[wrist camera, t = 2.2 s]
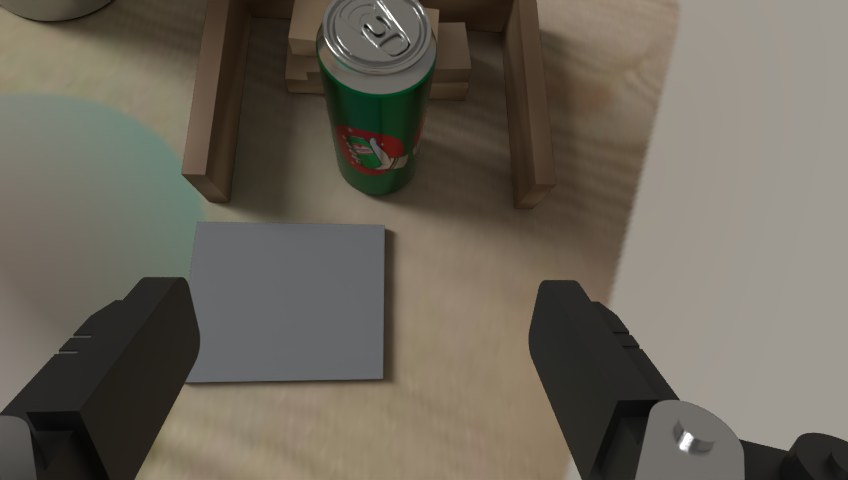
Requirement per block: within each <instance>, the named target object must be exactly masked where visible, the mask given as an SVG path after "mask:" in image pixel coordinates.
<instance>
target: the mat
mask: <svg viewBox="0 0 848 480" xmlns="http://www.w3.org/2000/svg"><path fill="white" fill-rule="evenodd" d="M384 241H385V225H351V224H295V223H238V222H197V225H196V233H195V241H194V247H193V254H192V261H191V269H190V277H189V283H188V285H189V288H190V293H191V297H192V301H193V305H194V310H195V314H196V318H197V322H198V327H199V331H200V349H199V354H198V357H197V360H196V362H195V364H194V366H193V368H192V370H191V372H190V373H189V375H188V377H187V379H186V381H185V382H236V381H292V380H349V379H383V331H384Z"/></svg>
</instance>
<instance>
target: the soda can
mask: <svg viewBox="0 0 848 480" xmlns="http://www.w3.org/2000/svg"><path fill="white" fill-rule="evenodd" d="M316 53H317V58H318V63H319V69H320V74H321V79H322V84H323V89H324V94H325V99H326V105H327V110H328V115H329V120H330V125H331V130H332V135H333V141H334V146H335V151H336V156H337V161H338V166H339V169H340V172H341V174H342V176H343V177H344V179H345V180H346V181H347V182H348V183H349V184H350V185H351V186H352V187H354V188H355V189H357V190H359V191H361V192H364V193H367V194H372V195H384V194H389V193H393V192H395V191H397V190H399V189H401V188H402V187H404V186H405V185H406V184H407V183H408V182H409V180H410V179H411V178H412V176H413V174H414V172H415V169H416V165H417V160H418V154H419V149H420V144H421V138H422V133H423V128H424V123H425V117H426V112H427V107H428V101H429V96H430V91H431V86H432V80H433V75H434V70H435V64H436V59H437V42H436V37H435V35H434V32H433V30H432V28H431V23H430V19H429V16H428V14H427V12H426V10H425V9H424V7H423V6H422V4H421V3H420V2H419V1H418V0H331V2H330V3H329V4H328V6H327V8H326V10H325V12H324V15H323V19H322V23H321V25H320V27H319V29H318V33H317V37H316Z"/></svg>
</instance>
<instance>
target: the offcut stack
mask: <svg viewBox="0 0 848 480" xmlns="http://www.w3.org/2000/svg"><path fill="white" fill-rule="evenodd" d="M330 2H331V0H295V2H294V8H293V14H292V19H291V25H290V28H289V37H288V49H287V60H286V72H285V81H286V84H287V87H288V90H289V92H298V93H319V94H324V89H323V84H322V79H321V74H320V69H319V63H318V58H317V53H316V37H317V33H318V29H319V27H320V25H321V23H322V19H323V15H324V12H325V10H326V8H327V6H328V4H329V3H330ZM424 9H425V10H426V12H427V14H428V16H429V19H430V23H431V28H432V30H433V32H434V35H435V37H436V42H437V59H436V64H435V70H434V75H433V80H432V86H431V91H430V96H429V99H446V100H465V98H466V95H467V92H468V89H469V83H468V79H469V76H470V73H471V70H472V67H471V60H470V54H469V47H468V41H467V34H466V28H465V22H463V23H438V21H439V10H438V9H430V8H424Z"/></svg>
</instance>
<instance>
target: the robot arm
mask: <svg viewBox="0 0 848 480" xmlns="http://www.w3.org/2000/svg"><path fill="white" fill-rule="evenodd" d="M110 1H111V0H0V5H1V6H3V7H4V8H5V9H7V10H8V11H10V12H13V13H15V14H17V15H19V16H21V17H26V18H30V19H34V20H43V21H58V20H68V19H72V18H76V17H80V16H84V15H86V14H89V13H91V12H93V11H96V10H98V9H100V8H101V7H103V6H104V5H106V4H107V3H109V2H110ZM199 349H200V331H199V327H198V322H197V318H196V314H195V310H194V305H193V301H192V297H191V293H190V288H189V285H188V282H187V281H186V279H185V278H183V277H145V278H143V279H141V280H140V281H139V282H138V283H137V284H136V286H135V287H134V288H133V289H132V290H131V291H130V293H129V294H128V295H127V296H126V297H125V298H124V299H123V300H115V301H114V302H112V303H111V304H109V305H107V306H106V307H104V308H103V309H101V310H99V311H98V312H96V313H95V314H93V315H91V316H90V317H89V318H88V319H87V320H86V321H85V323H84V324H83V325H82V326H81V327H80V328H79V329H78V330H77V331H76V332H75V333H74V337H73V338H70V339H69V340H68V341H67V342H66V343H65V344H64V345H63V346H62V348H60V350H59V354H55V355H54V356H53V357H52V358H51V359H50V360H49V361H48V362H47V364H45V366H44V367H43V368H42V369H41V370H40V371H39V372H38V373H37V374H36V375H35V376H34V377H33V379H32V380H31V381H30V382H29V383H28V384H27V385H26V386H25V387H24V388H23V389H22V390H21V392H20V393H19V394H18V395H17V396H16V397H15V398H14V399H13V400H12V401H11V402H10V403H9V404H8V406H6V408H5V409H4V410H3V411H2V412H1V413H0V480H134V479H135V477H136V475H137V473H138V472H139V470H140V468H141V466H142V464H143V462H144V460H145V458H146V456H147V454H148V452H149V450H150V448H151V447H152V445H153V443H154V441H155V439H156V437H157V435H158V433H159V431H160V429H161V427H162V425H163V423H164V422H165V420H166V418H167V416H168V414H169V412H170V410H171V408H172V406H173V404H174V402H175V400H176V398H177V397H178V395H179V393H180V391H181V389H182V387H183V385H184V383H185V381H186V379H187V377H188V375H189V373H190V372H191V370H192V368H193V366H194V364H195V362H196V360H197V357H198V354H199ZM529 350H530V355H531V358H532V360H533V363H534V365H535V368H536V370H537V372H538V375H539V377H540V380H541V382H542V384H543V387H544V389H545V392H546V394H547V397H548V399H549V401H550V404H551V406H552V409H553V411H554V413H555V416H556V418H557V421H558V423H559V425H560V428H561V430H562V433H563V435H564V438H565V440H566V442H567V445H568V447H569V450H570V452H571V454H572V457H573V459H574V462H575V464H576V466H577V469H578V471H579V474H580V476H581V479H582V480H848V442H847V441H844V440H842V439H839V438H836V437H833V436H830V435H826V434H821V433H806V434H803V435H801V436H799V437H798V439H797V440H796V441H795V443H794V444H793V446H792V447H791V448H790V450H789V451H785V450H781V449H777V448H773V447H769V446H765V445H760V444H756V443H752V442H748V441H744V440H740V439H738V437H737V436H736V435H735V433H734V432H733V431H732V430H731V429H730V428H729V427H728V426H727V424H725V423H724V422H723V421H722V420H721V419H719V418H718V417H717V416H715V415H714V414H712V413H711V412H709V411H707V410H705V409H703V408H701V407H699V406H697V405H694V404H692V403H689V402H684V401H680V400H679V398H678V397H677V395H676V394H675V393H674V391H673V390H672V389H671V387H670V386H669V385H668V383H667V382H666V381H665V379H664V378H663V377H662V375H661V374H660V372H659V371H658V370H657V368H656V367H655V366H654V364H653V363H652V362H651V360H650V359H649V358H648V356H647V355H646V354H645V353H644V351H643V350H642V349H640V348H639V344H638V343H637V342H636V340H635V339H634V337H633V336H632V335H629V331H628V329H627V328H626V327H625V325H624V324H623V323H622V321H621V320H620V319H619V317H618V316H617V315H615V314H614V313H613V312H612V311H610V310H609V309H608V308H606V307H605V306H604V305H602V304H601V303H600V302H591V300H590V299H589V297H588V296H587V294H586V293H585V292H584V290H583V289H582V287H581V286H580V284H579V283H578V282H577V281H575V280H544V281H542V282H541V284H540V286H539V290H538V294H537V298H536V303H535V307H534V312H533V316H532V321H531V325H530V330H529Z"/></svg>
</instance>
